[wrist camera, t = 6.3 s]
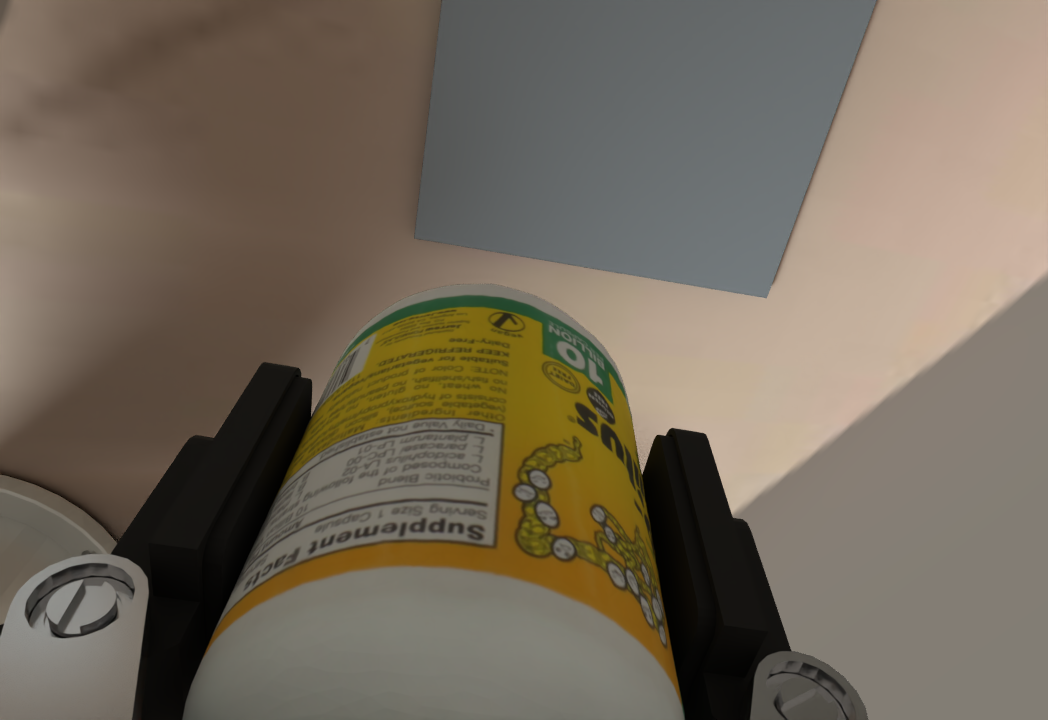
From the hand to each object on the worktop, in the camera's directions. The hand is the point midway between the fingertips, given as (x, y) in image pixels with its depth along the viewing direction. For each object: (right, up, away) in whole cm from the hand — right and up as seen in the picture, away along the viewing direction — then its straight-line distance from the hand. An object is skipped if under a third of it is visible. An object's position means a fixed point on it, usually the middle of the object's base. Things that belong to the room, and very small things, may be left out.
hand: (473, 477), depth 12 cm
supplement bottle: (0, +1, +2) cm, 2 cm away
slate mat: (+5, +12, +14) cm, 19 cm away
